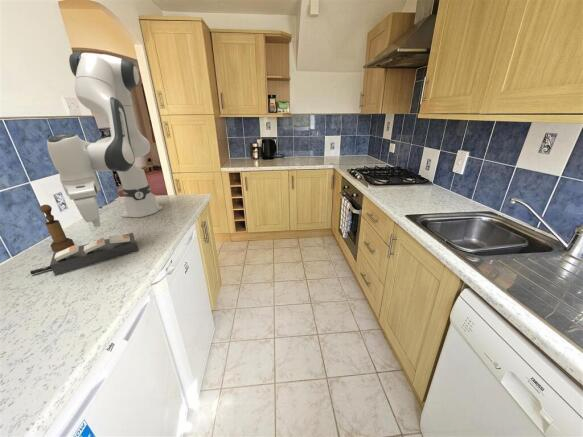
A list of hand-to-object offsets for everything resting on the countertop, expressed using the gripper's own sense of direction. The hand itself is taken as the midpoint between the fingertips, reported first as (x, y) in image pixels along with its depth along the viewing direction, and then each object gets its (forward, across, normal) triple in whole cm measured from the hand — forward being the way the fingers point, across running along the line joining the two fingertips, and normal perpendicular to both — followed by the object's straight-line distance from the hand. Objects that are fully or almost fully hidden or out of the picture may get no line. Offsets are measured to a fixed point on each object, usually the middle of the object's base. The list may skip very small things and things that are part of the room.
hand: (97, 225), depth 84 cm
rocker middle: (+7, -1, -3) cm, 8 cm away
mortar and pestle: (+12, -21, -14) cm, 28 cm away
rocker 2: (+7, -1, +4) cm, 8 cm away
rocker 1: (+7, -1, -10) cm, 13 cm away
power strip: (+12, -3, -6) cm, 14 cm away
